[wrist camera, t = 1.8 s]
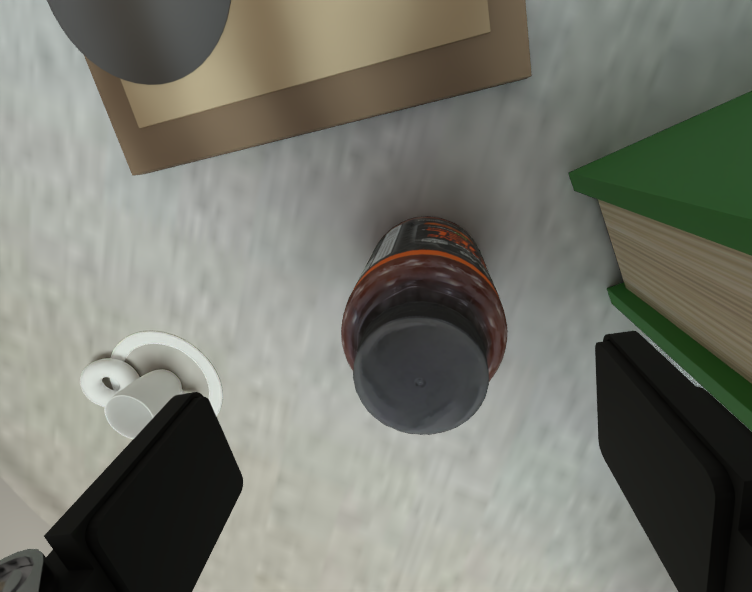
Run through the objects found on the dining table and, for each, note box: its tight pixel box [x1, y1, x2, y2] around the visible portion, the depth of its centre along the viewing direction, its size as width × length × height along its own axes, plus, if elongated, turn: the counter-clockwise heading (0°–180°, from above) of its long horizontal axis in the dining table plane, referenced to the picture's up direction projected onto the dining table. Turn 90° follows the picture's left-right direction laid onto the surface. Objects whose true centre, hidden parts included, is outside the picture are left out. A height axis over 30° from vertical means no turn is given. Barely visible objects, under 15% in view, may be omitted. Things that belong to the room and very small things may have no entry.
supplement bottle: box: [341, 217, 508, 435], centre depth 17 cm, size 6×6×11 cm
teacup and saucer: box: [80, 331, 223, 439], centre depth 26 cm, size 9×8×4 cm
